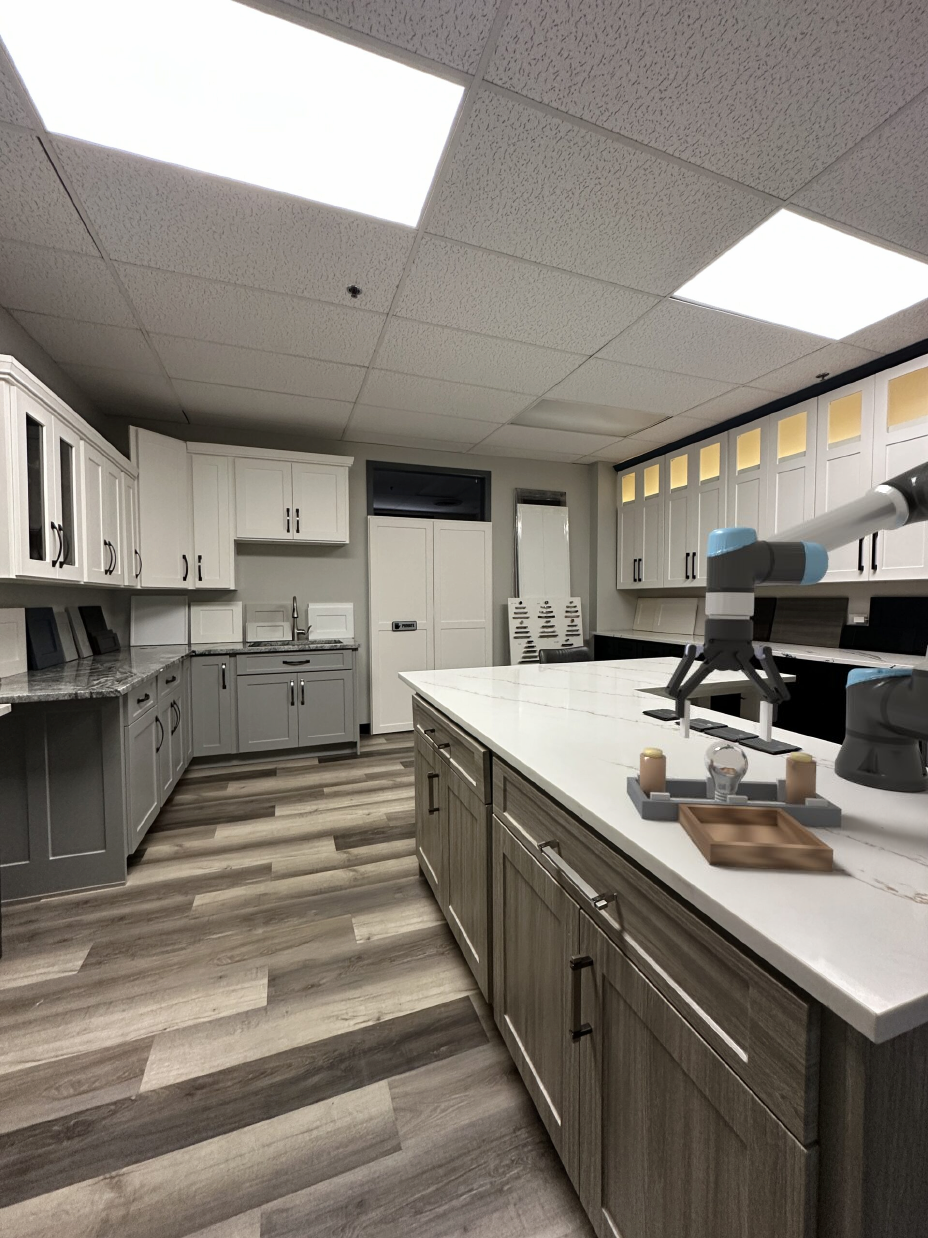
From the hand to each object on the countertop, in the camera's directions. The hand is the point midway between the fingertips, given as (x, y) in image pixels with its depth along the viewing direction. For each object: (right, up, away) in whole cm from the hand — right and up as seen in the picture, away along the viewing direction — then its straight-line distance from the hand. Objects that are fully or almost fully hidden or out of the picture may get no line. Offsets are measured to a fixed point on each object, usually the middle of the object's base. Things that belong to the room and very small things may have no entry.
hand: (724, 738), depth 90 cm
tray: (-3, -13, -13) cm, 18 cm away
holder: (0, -13, 0) cm, 13 cm away
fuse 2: (+13, -13, -1) cm, 18 cm away
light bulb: (0, -13, 0) cm, 13 cm away
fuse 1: (-12, -13, +2) cm, 17 cm away
